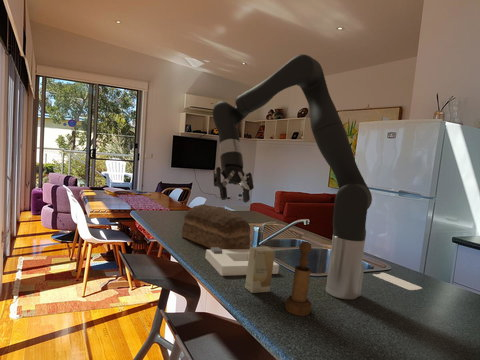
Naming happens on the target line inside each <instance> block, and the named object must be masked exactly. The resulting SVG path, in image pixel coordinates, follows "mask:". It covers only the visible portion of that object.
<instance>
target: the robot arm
mask: <svg viewBox="0 0 480 360" xmlns="http://www.w3.org/2000/svg"><path fill="white" fill-rule="evenodd" d="M327 85H328V84H327V80H326V77H325V74H324V70H323V67H322V65H321V64H320V62H319V61H318V60H316V59H315V58H313V57H312V56H310V55H308V54H303V53H301V54H298V55H296V56H293V58H291V59H290V60H289V61H287V62H285V64H284V65H283V66H281V67H280V68H278V69H277V70H276V71H275V72H274V73H273V74H271V75H270V76H268V77H267V78H266V79H264V80H262V81H261V82H260V83H258V84H257V85H255V86H254V87H252V88H250V89H248V90H246V91H244V92H243V93H240V95H238V96H237V97H236V98H235V105H236V106H234V105H232V104H230V103H228V102H226V101H225V100H224V101H223V100H222V101H218V102H216V103H215V104H214V106H213V109H212V118H213V122H214V126H215V128H216V131H217V132H218V141H219V157H220V158H219V159H220V166H217V167H216V168H215V169H213V186H214V187H217V188H219V193H220V194H219V195H220V198H221V200H223V201H225V200H227V198H228V190H227V187H226V186H227V185H228V184H230V185H232V184H233V185H236V186H237V187H238V188H239V189H241V191H242V201H243V203H244V204H245V203H248V202H249V201H250V198H251V196H250V191H251V190H254V188H255V185H254V182H253V176H252V173H251V172H247V173H245V171H244V170H243V169H244V160H243V159H244V158H243V152H242V146H241V141H240V133H239V130H238V128H237V127H236V126H238V125H239V124H240V123H242V121H244V119H245V118H247V116H248V115H250V114H251V113H253V112H254V111H257V110H259V109H260V108H263V107H264V106H265V105H266V104H268V103H269V102H270V101H271V100H272V99H273V98H274V97H275V96H276V95H277V94H278V93H280V92H282V91H284V90H286V89H288V88H291V87H294V86H298V87H300V89H301V90H302V93H303V95H304V97H305V99H306V101H307V104H308V107H309V108H308V109H309V118H310V119H309V120H310V129H311V132H312V135H313V138H314V141H315V143H316V146H317V148H318V149H319V151H320V154H321V155H322V157H323V158H324V160H325V162H326V163H327V164H328V166H329V168H330V169H331V171H332V173H333V175H334V177H335V180H336V183H337V187H338V190H337V192H336V194H335V198H334V204H333V205H334V207H333V215H332V216H333V217H332V227H333V230H332V231H333V232H332V238H331V239H332V241H331V246H330V247H331V249H330V254H329V256H330V257H329V263H328V271H327V277H326V286H325V291H326V293H327V294H328V295H330V296H332V297H334V298H338V299H342V300H355V299H357V298H359V297H361V294H362V286H363V279H364V271H365V264H363V258H364V250H365V246H366V244H365V243H366V237H367V230H366V224H367V223H366V222H367V215H368V210H369V209H370V207H371V205H372V203H373V198H372V197H373V195H372V193H371V191H370V188H369V186H368V185H367V183H366V180H364V178H363V176H362V175H363V174H361V173H362V172H360V169H359V167H358V165H357V162H356V159H355V155H354V151H353V149H352V146H351V143H350V140H349V137H348V134H347V131H346V129H345V127H344V123H343V122H342V119H341V117H340V115H339V113H338V109H336V106H335V105H336V104H335V103H334V102H333V100H332V97H331V95H330V92H329V89H328V86H327ZM221 176H222V177H223V179H221V178H222V177H221Z"/></svg>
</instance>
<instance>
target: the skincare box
mask: <svg viewBox="0 0 480 360" xmlns="http://www.w3.org/2000/svg"><path fill="white" fill-rule="evenodd" d="M249 249H250V252H249V260H248V268H247V275H245V277H246V278H245V285H244V288H245V289H246V290H247V291H249V292H250V293H251V294H257V293H269V292H271V284H272V276H273V274H272V270H273V262H275V254H276V252H275V250H274V249H273V248H270V247H269V246H250V248H249Z"/></svg>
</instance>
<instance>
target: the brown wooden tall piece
mask: <svg viewBox="0 0 480 360" xmlns="http://www.w3.org/2000/svg"><path fill="white" fill-rule="evenodd" d="M298 247H299V248H298V249H299V252H300V254H301V256H300V258H299V259H298V260H299V265H296V266H295V267H294V273H293V275H294V276H293V284H292V290H291V295H289V297H287V298H286V300H285V306H284V308H285V310H286V311H287V312H288V313H289V314H291V315H296V316H298V317H299V316H301V317H304V316H306V317H307V316H308V315H310V314H311V311H312V309H311V308H312V303H311V301H309V299H308V292H309V285H310V284H309V283H310V277H311V268H310V267H308V266H307V265H308V263H309V259H308V255H309V254H310V253H311V250H312V245H311V243H310V242H308V241H302V242H300V244H299V245H298Z"/></svg>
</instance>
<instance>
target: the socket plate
mask: <svg viewBox="0 0 480 360" xmlns="http://www.w3.org/2000/svg"><path fill="white" fill-rule="evenodd" d="M249 252H250V248H249V249H222V250H221V249H220V248H219V247H211V249H206V250H205V256H204V258H205V259H206V260H207V262H209V264H210V265H211V266H212V267H213V268H214V269H215V270H216V271H217V272H218V274H219V275H220V276H221V277H224V276H246V275H247V268H248V260H249ZM279 267H280V264H279V263H277V262H276V261H274V262H273V270H272V275H275V274H276V275H278V274H279Z"/></svg>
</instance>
